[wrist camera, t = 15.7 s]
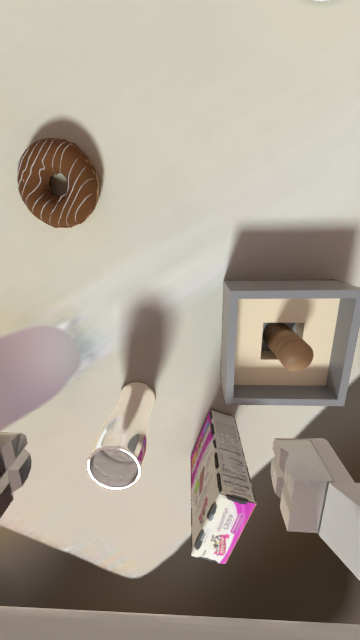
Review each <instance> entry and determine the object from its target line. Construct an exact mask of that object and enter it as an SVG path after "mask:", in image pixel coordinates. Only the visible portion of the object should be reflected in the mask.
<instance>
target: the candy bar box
mask: <svg viewBox="0 0 360 640" xmlns="http://www.w3.org/2000/svg"><path fill="white" fill-rule="evenodd" d="M255 506H256V500H255V496H254V492H253V489H252V485H251V480H250V476H249V472H248V468H247V465H246V461H245V457H244V453H243V449H242V445H241V441H240V437H239V433H238V429H237V425H236V421H235V417H233V416H230V415H227V414H223V413H220V412H217V411H213V410H209V412H208V415H207V418H206V420H205V423H204V425H203V428H202V430H201V433H200V435H199V438H198V440H197V443H196V445H195V448H194V450H193V453H192V455H191V539H192V544H191V545H192V551H191V555H192V556H194V557H198V558H203V559H206V560H210V561H215V562H217V563H221V564H226V562H227V560H228V558H229V556H230V554H231V552H232V550H233V548H234V546H235V544H236V542H237V540H238V538H239V537H240V535H241V533H242V531H243V529H244V527H245V525H246V523H247V521H248V519H249V517H250V516H251V513H252V512H253V510H254V508H255Z"/></svg>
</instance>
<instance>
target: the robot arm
mask: <svg viewBox="0 0 360 640" xmlns="http://www.w3.org/2000/svg"><path fill="white" fill-rule="evenodd" d="M314 1H330V0H314ZM27 443H28V442H27V439H26V435H24V434H22V433H8V432H0V518H1V517H2V515H3V514H4V512H5V511H6V509H7V508H8V506H9V505H10V503H11V502H12V500H13V492H14V491H16V490H17V489H19V488H20V487H22V486H23V484H24V483H25V481H26V479H27V478H28V475H29V472H30V469H31V456H30V454H29V453H28V452H27V451H26V450H25V449H24V448H25V447H26V445H27ZM273 451H274V454H275V457H274V458H273V459H272V460H271V476H272V483H273V487H274V491H275V494H276V495H277V496H278V497H279V498H281V503H280V510H281V513H282V516H283V519H284V522H285V525H286V528H287V531H296V532H311V533H319V536H320V537H321V538H322V539H323V540H324V541H325V542H326V544H328V546H329V547H330V548H331V549H332V550H333V551H334V552H335V554H336V555H337V556H338V557H339V558H340V559H341V560H342V561H343V562H344V564H345V565H346V566H347V567H348V568H349V569H350V570H351V571H352V572H353V574H354V575H355V576H356V577H357V578H358V579H359V580H360V483H355V482H354V481H353V479H352V478H351V476H350V475H349V473H348V472H347V470H346V469H345V467H344V466H343V464H342V463H341V461H340V460H339V458H338V457H337V455H336V454H335V452H334V451H333V449H332V447H331V446H330V444H329V443H328V441H326V440H325V439H280V438H275V440H274V442H273ZM0 640H360V625H355V624H354V625H353V624H336V623H316V622H298V621H278V620H259V619H239V618H220V617H202V616H182V615H163V614H143V613H125V612H105V611H85V610H64V609H46V608H25V607H6V606H0Z"/></svg>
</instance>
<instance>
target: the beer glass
mask: <svg viewBox="0 0 360 640" xmlns="http://www.w3.org/2000/svg"><path fill="white" fill-rule="evenodd" d="M154 403H155V394H154V392H153V390H152V389H151V388H150V387H149V386H148V385H146V384H144V383H141V382H132V383H129V384H127V385H126V386H124V387H123V389H122V390H121V393H120V397H119V403H118V405H117V406H116V408H115V409H114V410H113V412H112V413H111V414H110V415H109V417H108V418H107V419H106V421H105V422H104V424H103V425H102V427H101V429H100V431H99V433H98V435H97V437H96V440H95V442H94V445H93V447H92V450H91V453H90V456H89V458H88V461H87V470H88V473H89V475H90V476H91V478H92V479H93V480H94V481H95V482H96V483H98V484H99V485H101V486H103V487H105V488H109V489H116V490H118V489H125V488H128V487H130V486H132V485H133V484H135V483H136V482H137V480H138V479H139V477H140V474H141V470H142V467H143V464H144V461H145V457H146V453H147V449H148V444H149V433H150V428H149V414H150V411H151V409H152V408H153V406H154Z"/></svg>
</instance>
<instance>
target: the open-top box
mask: <svg viewBox="0 0 360 640" xmlns="http://www.w3.org/2000/svg"><path fill="white" fill-rule="evenodd" d="M271 323H284V324H286V325H287V326H288V327H289V328H290V329H291V330H293V331H294V332H295V333H296V334H297V335H298V336H299V337H301V338H302V339H303V340H304V341H305V342H306V343H307V344H308V345H310V346H311V348H312V350H313V354H314V356H313V360H312V362H311V364H310V365H309V366H308V367H307V368H305V369H303V370H301V371H290V370H288V369H286V368H285V367H284V366H283V365H282V364H281V362H280V361H279V360H278V358H277V357H276V356H275V354H274V353H273V352H272V350H271V349H270V348H269V346H268V345H267V344H266V342H265V341H264V339H263V332H264V330H265V328H266V327H267V326H268V325H269V324H271ZM359 326H360V288H359V287H356V286H353V285H350V284H347V283H344V282H341V281H337V280H237V281H224V283H223V314H222V344H221V374H220V378H221V383H222V388H223V394H224V399H225V404H229V405H303V406H344V404H345V398H346V393H347V388H348V383H349V378H350V373H351V368H352V362H353V357H354V352H355V347H356V342H357V337H358V332H359Z"/></svg>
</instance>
